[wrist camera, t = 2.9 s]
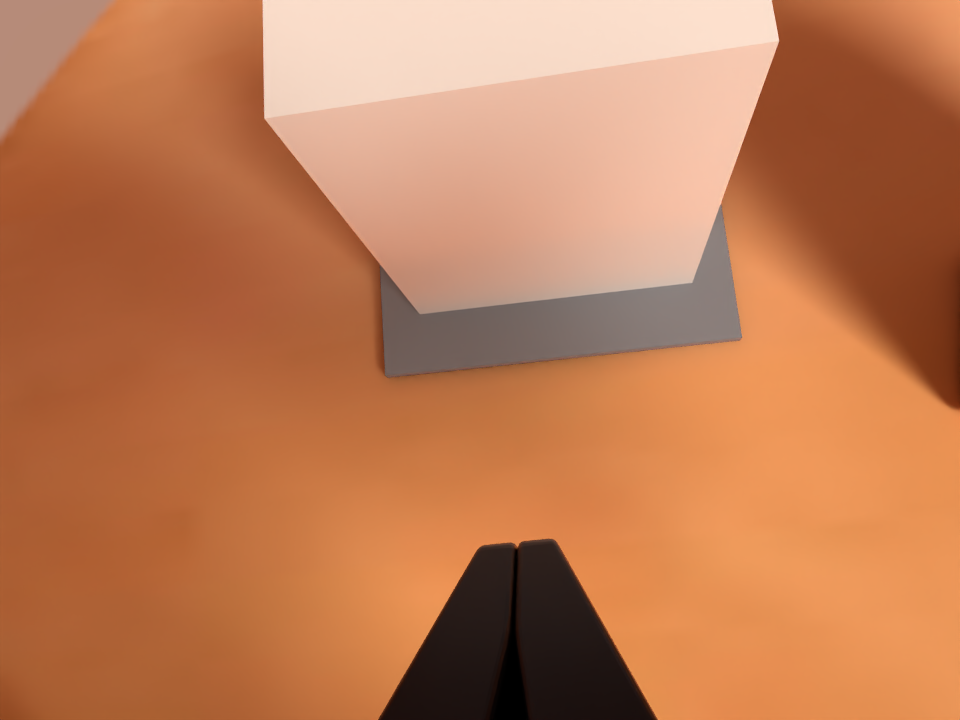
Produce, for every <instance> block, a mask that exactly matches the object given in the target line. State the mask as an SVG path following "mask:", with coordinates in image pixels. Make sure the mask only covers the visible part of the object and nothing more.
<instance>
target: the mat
mask: <svg viewBox="0 0 960 720" xmlns="http://www.w3.org/2000/svg"><path fill="white" fill-rule="evenodd" d="M380 280H381V301H382V322H383V342H384V363H385V376H387V377H388V378H389V377H398V376H408V375H417V374H427V373H436V372H446V371H455V370H464V369H474V368H483V367H493V366H502V365H512V364H521V363H531V362H540V361H549V360H559V359H568V358H578V357H587V356H597V355H606V354H615V353H625V352H634V351H644V350H653V349H663V348H672V347H682V346H691V345H700V344H710V343H719V342H729V341H738V340H741V338H742V334H741V328H740V321H739V315H738V308H737V302H736V296H735V289H734V283H733V277H732V270H731V264H730V257H729V251H728V245H727V238H726V232H725V226H724V219H723V213H722V206H721V204H720V207H719V210H718V213H717V215H716V218H715V221H714V224H713V226H712V229H711V232H710V235H709V238H708V240H707V243H706V246H705V249H704V251H703V254H702V257H701V260H700V263H699V265H698V268H697V271H696V274H695V277H694V279H693V282H692V283H686V284H678V285H669V286H660V287H652V288H643V289H634V290H626V291H617V292H608V293H600V294H591V295H582V296H574V297H565V298H556V299H548V300H539V301H530V302H522V303H513V304H504V305H496V306H487V307H478V308H470V309H461V310H453V311H444V312H435V313H427V314H419V313H418V311H417V310H416V309H415V308H414V306H413V305H412V304H411V303H410V301H409V300H408V299H407V298H406V296H405V295H404V294H403V293H402V291H401V290H400V289H399V288H398V286H397V285H396V284H395V282H394V281H393V280H392V279H391V277H390V276H389V275H388V274H387V272H386V271H385V270H384V269H383V267H382V266H381V265H380Z"/></svg>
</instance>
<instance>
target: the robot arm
mask: <svg viewBox="0 0 960 720" xmlns="http://www.w3.org/2000/svg"><path fill="white" fill-rule="evenodd" d="M378 720H658V719H657V718H656V716H655V714H654V712H653V711H652V709H651V707H650V705H649V704H648V702H647V700H646V698H645V697H644V695H643V693H642V691H641V689H640V688H639V686H638V684H637V682H636V681H635V679H634V677H633V675H632V674H631V672H630V670H629V668H628V667H627V665H626V663H625V661H624V659H623V658H622V656H621V654H620V652H619V651H618V649H617V647H616V645H615V644H614V642H613V640H612V638H611V637H610V635H609V633H608V631H607V629H606V628H605V626H604V624H603V622H602V621H601V619H600V617H599V615H598V614H597V612H596V610H595V608H594V607H593V605H592V603H591V601H590V599H589V598H588V596H587V594H586V592H585V591H584V589H583V587H582V585H581V584H580V582H579V580H578V578H577V577H576V575H575V573H574V571H573V569H572V568H571V566H570V564H569V562H568V561H567V559H566V557H565V555H564V554H563V552H562V550H561V548H560V547H559V545H558V543H557V542H556V541H555V540H553V539H542V540H532V541H523V542H521V543H520V544H519V546H518V547H517V546H516V545H515V544H513V543H501V544H491V545H483V546H481V547H480V548H479V549H478V550H477V551H476V553H475V554H474V556H473V558H472V560H471V561H470V563H469V565H468V566H467V568H466V570H465V572H464V573H463V575H462V577H461V578H460V580H459V582H458V584H457V585H456V587H455V589H454V590H453V592H452V594H451V596H450V597H449V599H448V601H447V602H446V604H445V606H444V608H443V609H442V611H441V613H440V614H439V616H438V618H437V620H436V621H435V623H434V625H433V626H432V628H431V630H430V632H429V633H428V635H427V637H426V639H425V640H424V642H423V644H422V645H421V647H420V649H419V651H418V652H417V654H416V656H415V657H414V659H413V661H412V663H411V664H410V666H409V668H408V669H407V671H406V673H405V675H404V676H403V678H402V680H401V681H400V683H399V685H398V687H397V688H396V690H395V692H394V693H393V695H392V697H391V699H390V700H389V702H388V704H387V706H386V707H385V709H384V711H383V712H382V714H381V716H380V718H379V719H378Z"/></svg>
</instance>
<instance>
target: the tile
mask: <svg viewBox="0 0 960 720" xmlns="http://www.w3.org/2000/svg"><path fill="white" fill-rule="evenodd" d="M778 43H779V37H778V32H777V27H776V21H775V16H774V10H773V5H772V0H263V60H264V119H265V120H266V121H267V123H268V124H269V125H270V126H271V128H272V129H273V130H274V131H275V133H276V134H277V135H278V136H279V138H280V139H281V140H282V142H283V143H284V144H285V145H286V147H287V148H288V149H289V150H290V152H291V153H292V154H293V155H294V157H295V158H296V159H297V160H298V162H299V163H300V164H301V165H302V167H303V168H304V169H305V170H306V172H307V173H308V174H309V176H310V177H311V178H312V179H313V181H314V182H315V183H316V184H317V186H318V187H319V188H320V189H321V191H322V192H323V193H324V194H325V196H326V197H327V198H328V199H329V201H330V202H331V203H332V204H333V206H334V207H335V208H336V209H337V211H338V212H339V213H340V215H341V216H342V217H343V218H344V220H345V221H346V222H347V223H348V225H349V226H350V227H351V228H352V230H353V231H354V232H355V233H356V235H357V236H358V237H359V238H360V240H361V241H362V242H363V243H364V245H365V246H366V247H367V249H368V250H369V251H370V252H371V254H372V255H373V256H374V257H375V259H376V260H377V261H378V262H379V264H380V265H381V266H382V267H383V269H384V270H385V271H386V272H387V274H388V275H389V276H390V277H391V279H392V280H393V281H394V282H395V284H396V285H397V286H398V288H399V289H400V290H401V291H402V293H403V294H404V295H405V296H406V298H407V299H408V300H409V301H410V303H411V304H412V305H413V306H414V308H415V309H416V310H417V311H418V313H419V314H427V313H435V312H444V311H453V310H461V309H470V308H478V307H487V306H496V305H504V304H513V303H522V302H530V301H539V300H548V299H556V298H565V297H574V296H582V295H591V294H600V293H608V292H617V291H626V290H634V289H643V288H652V287H660V286H669V285H678V284H686V283H692V282H693V279H694V277H695V274H696V271H697V268H698V265H699V263H700V260H701V257H702V254H703V251H704V249H705V246H706V243H707V240H708V238H709V235H710V232H711V229H712V226H713V224H714V221H715V218H716V215H717V213H718V210H719V207H720V204H721V201H722V199H723V196H724V193H725V190H726V187H727V185H728V182H729V179H730V176H731V174H732V171H733V168H734V165H735V162H736V160H737V157H738V154H739V151H740V149H741V146H742V143H743V140H744V137H745V135H746V132H747V129H748V126H749V123H750V121H751V118H752V115H753V112H754V110H755V107H756V104H757V101H758V98H759V96H760V93H761V90H762V87H763V85H764V82H765V79H766V76H767V73H768V71H769V68H770V65H771V62H772V59H773V57H774V54H775V51H776V48H777V46H778Z"/></svg>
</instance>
